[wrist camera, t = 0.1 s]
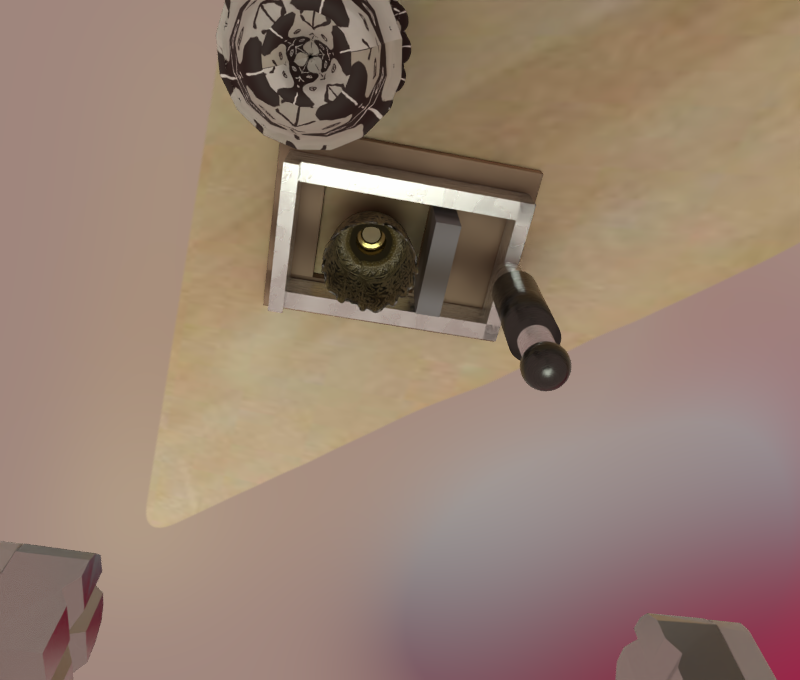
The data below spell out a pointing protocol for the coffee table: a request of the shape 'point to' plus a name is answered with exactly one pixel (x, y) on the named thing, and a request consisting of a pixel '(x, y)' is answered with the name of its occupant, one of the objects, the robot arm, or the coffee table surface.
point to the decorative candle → (313, 66)
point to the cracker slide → (504, 303)
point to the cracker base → (444, 232)
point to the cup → (369, 263)
